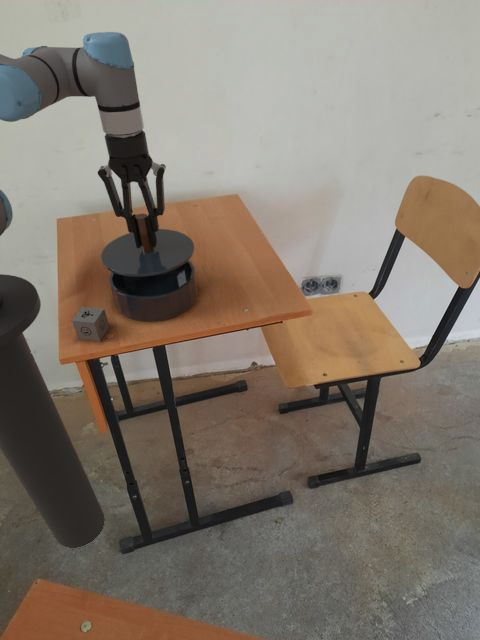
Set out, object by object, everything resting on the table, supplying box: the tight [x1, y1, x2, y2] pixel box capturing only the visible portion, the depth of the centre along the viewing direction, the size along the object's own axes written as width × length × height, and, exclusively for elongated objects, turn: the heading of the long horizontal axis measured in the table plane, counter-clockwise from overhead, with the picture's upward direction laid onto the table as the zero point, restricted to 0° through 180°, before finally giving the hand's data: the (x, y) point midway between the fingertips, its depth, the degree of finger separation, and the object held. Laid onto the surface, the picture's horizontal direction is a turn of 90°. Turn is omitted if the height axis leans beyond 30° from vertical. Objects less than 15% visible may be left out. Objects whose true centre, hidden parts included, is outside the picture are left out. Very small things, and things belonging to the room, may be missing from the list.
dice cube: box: [71, 306, 110, 342], centre depth 101 cm, size 5×5×5 cm
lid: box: [100, 213, 195, 277], centre depth 103 cm, size 20×20×9 cm
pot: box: [108, 259, 199, 323], centre depth 111 cm, size 19×19×6 cm
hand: (146, 244), depth 104 cm, fingers closed on lid, 3 cm apart
